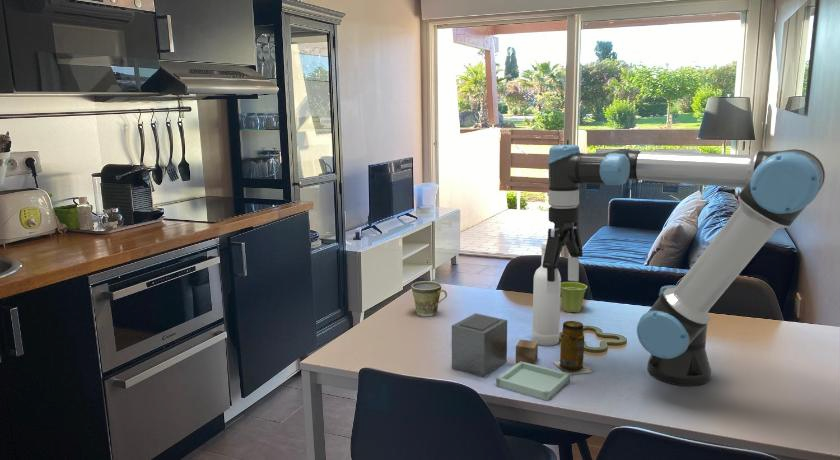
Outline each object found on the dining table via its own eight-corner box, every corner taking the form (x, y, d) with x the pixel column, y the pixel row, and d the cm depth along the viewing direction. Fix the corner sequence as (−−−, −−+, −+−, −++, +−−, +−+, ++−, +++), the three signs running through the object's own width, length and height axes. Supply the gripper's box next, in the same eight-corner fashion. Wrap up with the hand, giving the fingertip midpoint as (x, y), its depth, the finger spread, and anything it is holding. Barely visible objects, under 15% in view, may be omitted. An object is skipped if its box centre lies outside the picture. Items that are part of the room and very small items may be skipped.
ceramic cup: (406, 315, 210) (405, 286, 208) (422, 307, 218) (422, 279, 216) (438, 322, 203) (438, 292, 201) (454, 313, 211) (454, 285, 209)
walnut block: (537, 358, 173) (537, 341, 172) (533, 365, 169) (534, 348, 168) (519, 356, 175) (520, 339, 174) (515, 363, 171) (515, 345, 170)
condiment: (577, 359, 172) (579, 318, 170) (592, 372, 164) (594, 329, 162) (552, 362, 171) (554, 320, 168) (566, 375, 162) (568, 331, 160)
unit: (506, 361, 171) (507, 319, 169) (484, 377, 162) (484, 332, 159) (474, 353, 177) (474, 312, 175) (450, 367, 168) (450, 324, 165)
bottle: (536, 334, 191) (538, 238, 185) (561, 338, 187) (565, 240, 181) (528, 343, 184) (530, 244, 178) (555, 347, 180) (558, 246, 174)
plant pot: (568, 303, 219) (568, 280, 218) (591, 310, 213) (592, 285, 211) (552, 310, 213) (552, 285, 212) (575, 316, 206) (576, 291, 205)
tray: (569, 381, 159) (570, 374, 158) (547, 400, 149) (547, 393, 148) (520, 368, 167) (520, 361, 167) (496, 385, 157) (496, 378, 156)
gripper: (568, 199, 172) (568, 274, 175) (528, 212, 152) (528, 296, 156) (595, 200, 167) (594, 277, 171) (557, 214, 147) (557, 301, 151)
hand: (563, 286), depth 163 cm, fingers open, 13 cm apart
